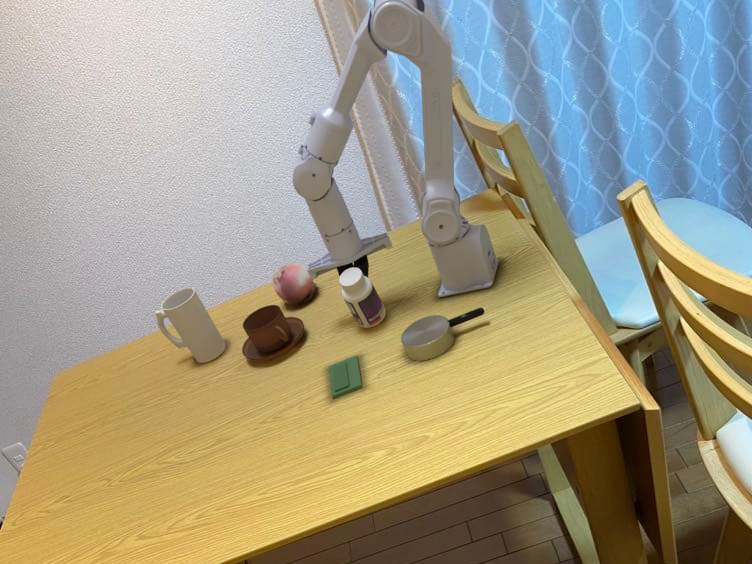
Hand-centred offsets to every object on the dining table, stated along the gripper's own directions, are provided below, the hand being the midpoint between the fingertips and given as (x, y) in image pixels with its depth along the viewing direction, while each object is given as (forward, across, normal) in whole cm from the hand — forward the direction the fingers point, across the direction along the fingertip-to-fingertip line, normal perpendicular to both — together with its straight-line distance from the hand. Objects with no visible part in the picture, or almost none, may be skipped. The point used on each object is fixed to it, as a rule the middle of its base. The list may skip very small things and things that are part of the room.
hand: (368, 298), depth 148 cm
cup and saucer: (+3, +18, -1) cm, 19 cm away
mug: (+3, +34, -9) cm, 35 cm away
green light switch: (+2, +6, +18) cm, 19 cm away
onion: (+3, +13, -15) cm, 20 cm away
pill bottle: (+2, 0, +3) cm, 4 cm away
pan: (+2, -11, +18) cm, 21 cm away
